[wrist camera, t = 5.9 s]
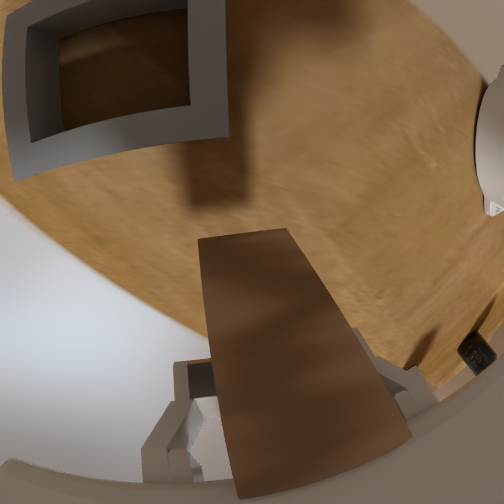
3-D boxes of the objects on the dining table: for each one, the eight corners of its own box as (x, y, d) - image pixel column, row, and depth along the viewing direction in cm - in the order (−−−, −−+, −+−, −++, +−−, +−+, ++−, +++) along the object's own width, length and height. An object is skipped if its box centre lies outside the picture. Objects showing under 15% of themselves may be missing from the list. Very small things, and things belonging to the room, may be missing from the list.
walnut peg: (286, 228, 12) (413, 436, 4) (281, 313, 15) (348, 478, 7) (197, 238, 12) (237, 496, 4) (211, 325, 15) (247, 506, 7)
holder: (214, -14, 9) (225, -44, 6) (218, 127, 14) (229, 137, 11) (40, 27, 7) (6, 16, 4) (48, 161, 12) (15, 181, 9)
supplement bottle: (456, 355, 47) (482, 389, 37) (456, 347, 43) (484, 385, 33) (476, 335, 45) (503, 368, 36) (477, 325, 42) (507, 361, 32)
